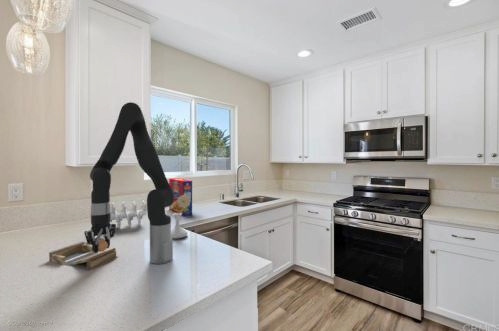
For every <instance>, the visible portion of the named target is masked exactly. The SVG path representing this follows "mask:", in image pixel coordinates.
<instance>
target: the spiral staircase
mask: <svg viewBox="0 0 499 331" xmlns="http://www.w3.org/2000/svg"><path fill="white" fill-rule="evenodd" d="M120 207H121V209H120V212H117V210H116V206H115V202H112V203H111V206H110V208H111V221H110V223H112V222H113V221H115V222H116V223H117V224H116V228H117V227H118V229H121V225H122V224H121V223H122V222H121V221H122V220H123V219H126V220H127V224H128V227H129V229H131V228H132V227H131V226H132V221H133V220H134V218H136V219H137V224H138V226H139V227H141V223H142V222H141V220H143V217H144V216H146V215H147V204H146V201H145V200H142V201H141V204H140V209H138V208H137V204H136V201H135V200H134V201H132V203H131V208H130V209H131V210H130V211H128V210H127V206H126V204H125V201H122V202H121V206H120Z"/></svg>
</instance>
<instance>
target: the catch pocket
mask: <svg viewBox="0 0 499 331" xmlns="http://www.w3.org/2000/svg"><path fill="white" fill-rule="evenodd" d="M80 251H86V252H90V251H92V244H86V243H85V241H80V242H75V243H73V244H70V245H67V246H64V247H61V248H58V249H56V250H51V251H49V252H48V253H49V254H48V256H49V257H48V258H49V260H48V261H49V262H52V263H55V264H60V265H63V263H64V262H66V256H69V255H71V254H74V253H77V252H80ZM92 252H93V251H92Z"/></svg>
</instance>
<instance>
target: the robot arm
mask: <svg viewBox="0 0 499 331" xmlns="http://www.w3.org/2000/svg"><path fill="white" fill-rule="evenodd" d="M116 120H117V121H116V123H115V125H114V128H113V131H112V134H111V135H110V138H109V139H108V141H107V143H106V145H105V147H104V148H103V150H102V153H100V154H101V155H100V157H99V159H98V160H97V161H96V163H95V164H94V166H93V167H92V168H91V170H90V173H89V178H90V180H91V181H92V190H91V193H90V194H91V196H90V200H91V201H90V224H91V227H90V229H89V230H85V231H84V236H85V240H86V243H87V245H92V251H93V252H94V253H97V252H98V241H100V240H101V239H100V236H101V235H103V236H104V239H103V240H105V241H106V242H107V243H108V247H107V249H109V248H110V246H111V239H112V238H114V237H115V233H116V228H117V224H115V223H111V222H110V221H111V203H110V202H111V201H110V200H111V199H110V198H111V195H110V194H111V193H110V190H111V184H112V183H111V182H112V174H111V170H112V168H113V167H114V166H116V164H117V163H118V161H119V160H120V157H121V155H122V153H123V152H124V149H125V147H126V146H125V145H126V141H127V138H128V135H129V133H130V134H131V136H132V137H131V138H132V140H133V149H134V154H135V156H136V157H135V158H136V160H137V163H138V166H139V167H140V168H141V169H142V170H143V172H144V174H146V176H148V177H149V178H150V180H151V181H152V183H153V185H154V188H155V189H151V190H150V191H149V192H148V193H147V197H146V206H147V212H146V214H147V218H148V221H149V263H151V264H153V265H155V264H156V265H160V264H162V265H163V264H167V263H168V262H170V261H171V260H173V257H174V256H173V255H174V253H173V252H174V251H173V250H174V249H173V248H174V246H173V244H174V242H173V239H174V238H171V230H172V229H171V228H172V218H171V216H170V215H169V214H166V208H169V206H171V205H172V204H173V202H174V194H173V191H172V189H171V187H170V185H169V180H168V179H167V176H166V174H165V171H164V169H163V167H162V163H161V161H160V158H159V155H158V152H157V151H158V150H157V149H156V146H155V145H154V144H155V143H154V142H153V140H152V137H151V136H150V135H149V134H150V133H149V131H148V128H147V125H146V124H147V123H146V119H145V115H144V111H143V110H142V108H141V107H140V106H139V104H138V103H135V102H130V101H129V102H125V103H124V104H123V105H122V106H121V109H120V111H119V114H118V116H117V119H116ZM98 253H99V252H98Z"/></svg>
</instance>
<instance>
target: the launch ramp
mask: <svg viewBox="0 0 499 331" xmlns="http://www.w3.org/2000/svg"><path fill="white" fill-rule="evenodd" d="M116 250H117V249H116V248H114V247H113V248H110V249H106V250H104V251H102V252H98V253H96V254H93V255H91V256H88V257H86V258H83V259H81V260H78V261H76V262H73V263H71V264H73V265H76V264H79V263H83V262H87V268H89V269H91V270H94V269H96V268H99V267H100V266H102V264H103V265H105V264H107V263H109V262H111V261H113V259H114V260H116V259H117V258H116V256H117V251H116ZM104 263H105V264H104ZM93 268H94V269H93Z"/></svg>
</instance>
